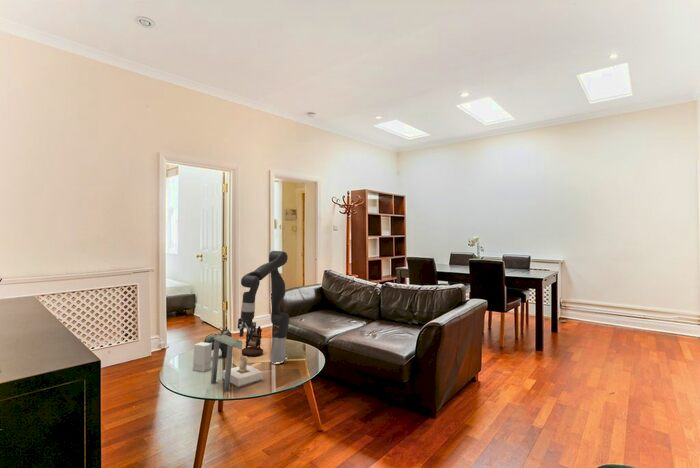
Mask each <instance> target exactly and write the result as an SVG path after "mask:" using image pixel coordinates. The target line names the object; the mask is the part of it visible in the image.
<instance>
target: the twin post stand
mask: <svg viewBox="0 0 700 468" xmlns="http://www.w3.org/2000/svg"><path fill="white" fill-rule="evenodd" d="M214 339H215V341H214V350H213V353H212V362H211V365H212V367H211V374H210V384H212V385H214V384H217V377H218V376H217V375H218V366H219V365H218V364H219V353H220V349H219V344H220V342H222V343H225V344H227V345H228V347H227V356H226V357H225V358H226V360H225V362H226V363H225V369H224V370H225V381H224V380H223V381H224V384H223V392H228V390H229V391H230V385H231V384H230V375H231V368H232V362H233V361H232V360H233V353H234V352H233V351H234V350H233V349H234V348H235V349H237V350H241V351H242V349H243V341H242V340H241V339H240V340H239V339H238V338H234V337H230V336H227V335H221V336H215V337H214Z"/></svg>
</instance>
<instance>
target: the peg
mask: <svg viewBox="0 0 700 468" xmlns="http://www.w3.org/2000/svg"><path fill="white" fill-rule="evenodd" d="M247 365H248V355H242V356H240V357H239V373H241V374H243V373H246V369H247Z"/></svg>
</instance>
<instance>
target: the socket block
mask: <svg viewBox="0 0 700 468" xmlns="http://www.w3.org/2000/svg"><path fill="white" fill-rule="evenodd" d="M239 366H240V365H239ZM239 366H234V367H231V375H230V385H231V386H233V387H235V388H237V389H239V387H240V388H243V387H246V385H247V386H249V384H250V385H253V384H255V383H254V382H256V383H259V382H261V380H262V381H263V375H264V374H263V373H264V372H263V371H261V370H260V369H257V368H256V367H253V366H251V365H248V364H247V369H246V373H243V374H241V373H239ZM221 372H222V373H221V380H222V381H225V369H224V370H222V371H221ZM258 381H259V382H258ZM252 383H253V384H252Z"/></svg>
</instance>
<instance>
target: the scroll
mask: <svg viewBox="0 0 700 468" xmlns="http://www.w3.org/2000/svg"><path fill="white" fill-rule="evenodd" d="M250 328H251V327H250ZM250 331H251V330H250ZM253 331H254V329H253ZM262 331H263V329H262V328H261V325H258V327H256V332H255V333H253V336H252V340H248V335H249V332H248V330H247V329H246V334H245V337H246V339H245V346H244V348H242V349H241V354H242V356H256V355H257V356H258V355H261V354H263V353H264V349H263V348H261V344H262V341H261V339H262V337H263V336H262ZM257 356H256V357H257Z"/></svg>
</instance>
